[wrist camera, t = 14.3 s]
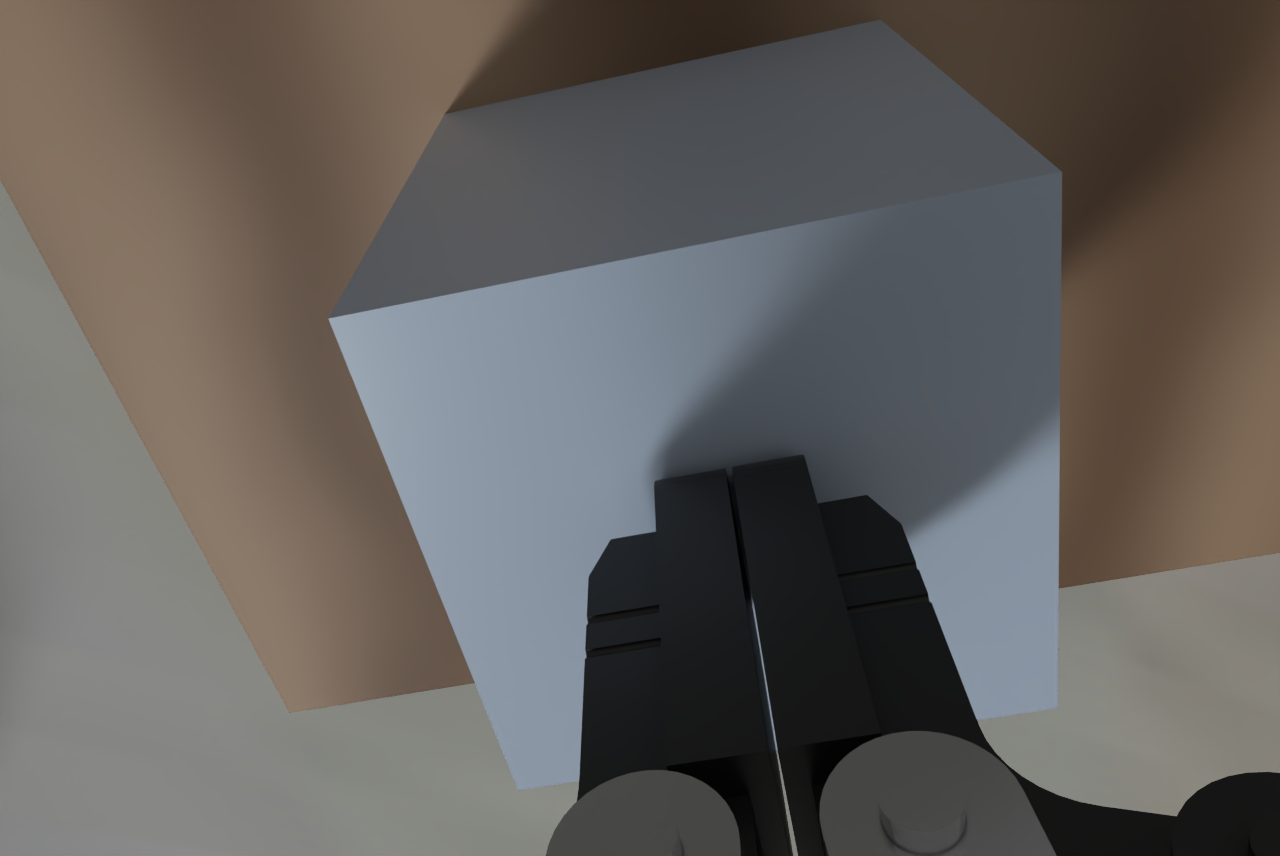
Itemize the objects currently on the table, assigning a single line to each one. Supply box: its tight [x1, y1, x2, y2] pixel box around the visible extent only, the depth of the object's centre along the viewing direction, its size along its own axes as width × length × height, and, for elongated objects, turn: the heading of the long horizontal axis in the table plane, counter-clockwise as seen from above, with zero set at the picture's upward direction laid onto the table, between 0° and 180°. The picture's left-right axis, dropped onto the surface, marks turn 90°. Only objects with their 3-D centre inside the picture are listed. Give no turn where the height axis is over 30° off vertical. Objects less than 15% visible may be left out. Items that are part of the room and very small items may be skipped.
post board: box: [0, 0, 1280, 713], centre depth 15 cm, size 20×16×8 cm
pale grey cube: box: [328, 19, 1062, 790], centre depth 13 cm, size 6×6×7 cm
